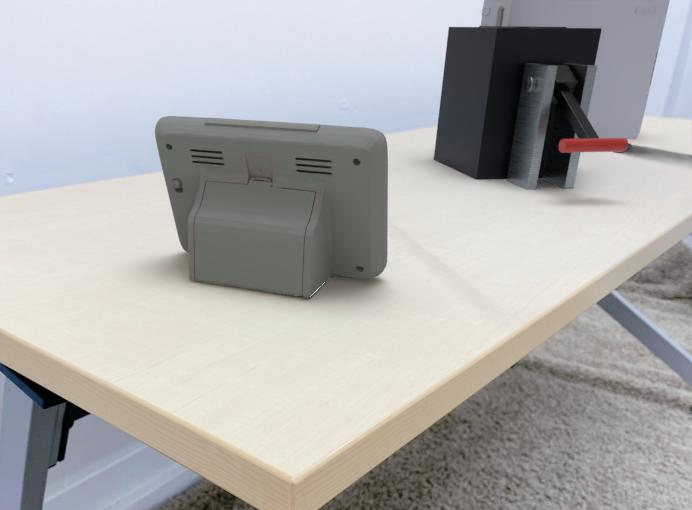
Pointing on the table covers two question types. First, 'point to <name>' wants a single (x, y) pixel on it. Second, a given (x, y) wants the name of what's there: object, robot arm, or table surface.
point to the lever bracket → (534, 126)
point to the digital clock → (276, 201)
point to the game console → (602, 50)
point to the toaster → (497, 90)
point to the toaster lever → (579, 119)
